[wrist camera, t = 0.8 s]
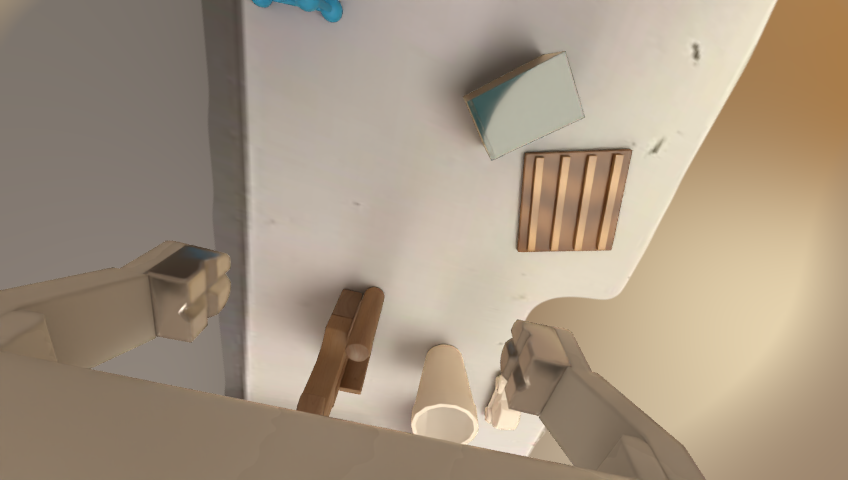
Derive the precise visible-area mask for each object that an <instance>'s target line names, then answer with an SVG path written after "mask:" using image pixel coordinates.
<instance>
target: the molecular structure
mask: <svg viewBox="0 0 848 480" xmlns="http://www.w3.org/2000/svg"><path fill="white" fill-rule="evenodd" d="M252 1H253V2H254V4H256V5H257V6H259V7H263V8H265V7H268V6H269V5H271V3H272V1H274V2H279V3H284V4H289V5H293V6H298V7H300V8H301V9H302V10H304V11H307V12H311V11H314V10H317V11H321V13H322V15H323V17H324V18H325V19H326V20H327V21H329V22H337V21H339V20H340V18H341V17H342V13H343V10H342V6H341V4H340V2H339V1H338V0H252Z"/></svg>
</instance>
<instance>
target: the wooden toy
mask: <svg viewBox="0 0 848 480" xmlns="http://www.w3.org/2000/svg"><path fill="white" fill-rule="evenodd" d="M361 301H362V302H361ZM383 302H384V293H383V291H382V290H381V289H379V288H377V287H371V288H369V289H367V290H366V291H365V294H364V296H363V299H362V293H360V292H355V291H351V290H346V289H343V290H342V293H341V295H340V297H339V299H338V301H337V304H336V306H335V308H334V310H333V312H332V315H331V317H330V319H329V321H328V324H327V326H326V329H325V334H324V338H323V342H322V346H321V349H320V352H319V355H318V358H317V361H316V364H315V366H314V368H313V371H312V373H311V375H310V377H309V380H308V382H307V384H306V387H305V389H304V391H303V393H302V395H301V397H300V399H299V402H298V405H297V409H296V410H297V411H302V412H307V413H312V414H317V415H322V416H327V417H329V415H330V412H331V409H332V407H333V406H334V403H335V400H336V397H337V394H338V391H339V390H340V391H344V392H349V393H354V394H361V391H362V387H363V383H364V379H365V375H366V371H367V367H368V363H369V359H370V354H371V350H372V345H373V341H374V337H375V333H376V329H377V325H378V321H379V317H380V313H381V309H382V306H383Z"/></svg>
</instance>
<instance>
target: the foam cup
mask: <svg viewBox="0 0 848 480" xmlns="http://www.w3.org/2000/svg"><path fill="white" fill-rule="evenodd" d="M411 427H412V431H413V434H417V435H422V436H426V437H431V438H436V439H441V440H446V441H451V442H456V443H461V444H467V443H468V442H470V441H472V440H473V439H474V437H475V436H476V434H477V432H478V420H477V412H476V405H475V404H474V402H473V398H472V394H471V390H470V386H469V382H468V378H467V374H466V370H465V366H464V362H463V358H462V354H461V353H460V351H459V350H458V349H457V348H455V347H453V346H451V345H443V344H441V345H438V346H434V347H433V348H431V349H430V350H429V351H428V353H427V355H426V359H425V362H424V367H423V371H422V375H421V380H420V384H419V388H418V392H417V397H416V401H415V404H414V406H413V409H412V417H411Z"/></svg>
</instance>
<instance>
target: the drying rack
mask: <svg viewBox="0 0 848 480" xmlns="http://www.w3.org/2000/svg"><path fill="white" fill-rule="evenodd" d="M631 155H632V150H631V149H613V150H585V151H557V152H528V153H525V156H524V168H523V181H522V194H521V206H520V219H519V232H518V244H517V250H518V252H543V251H598V250H611V249H612V245H613V240H614V235H615V230H616V226H617V221H618V216H619V211H620V207H621V202H622V197H623V192H624V188H625V183H626V178H627V173H628V169H629V164H630V159H631Z"/></svg>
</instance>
